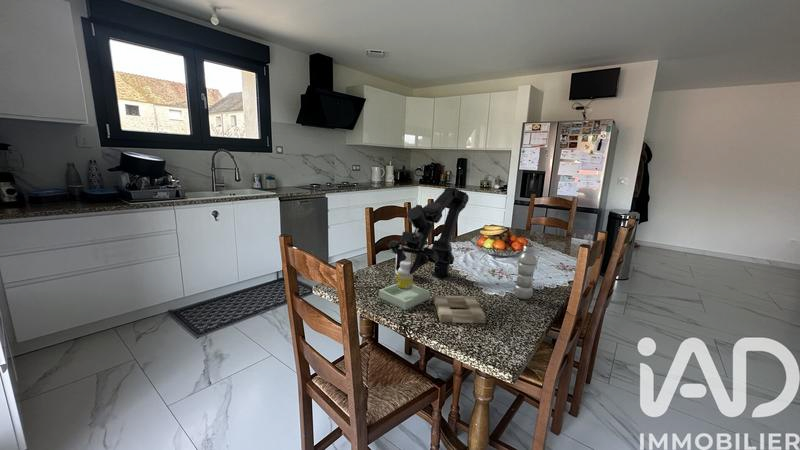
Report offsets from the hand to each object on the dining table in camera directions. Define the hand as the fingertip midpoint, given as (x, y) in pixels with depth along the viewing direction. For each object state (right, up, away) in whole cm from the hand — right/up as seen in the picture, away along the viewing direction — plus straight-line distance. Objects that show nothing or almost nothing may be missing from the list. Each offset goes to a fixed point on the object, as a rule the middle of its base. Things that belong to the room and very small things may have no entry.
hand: (403, 271), depth 110 cm
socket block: (+18, -13, -5) cm, 23 cm away
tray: (0, -10, +3) cm, 11 cm away
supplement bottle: (+1, -6, +3) cm, 7 cm away
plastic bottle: (+45, -11, +8) cm, 47 cm away
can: (0, -5, +27) cm, 27 cm away
